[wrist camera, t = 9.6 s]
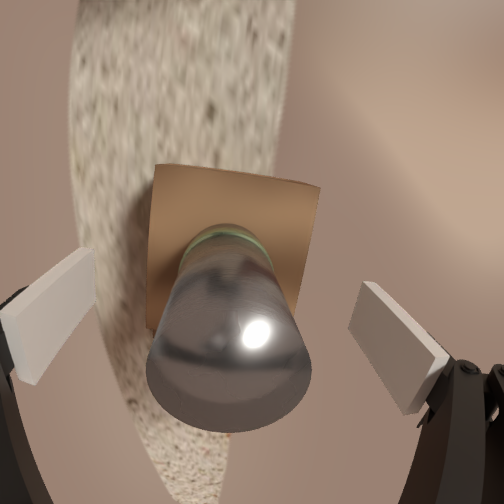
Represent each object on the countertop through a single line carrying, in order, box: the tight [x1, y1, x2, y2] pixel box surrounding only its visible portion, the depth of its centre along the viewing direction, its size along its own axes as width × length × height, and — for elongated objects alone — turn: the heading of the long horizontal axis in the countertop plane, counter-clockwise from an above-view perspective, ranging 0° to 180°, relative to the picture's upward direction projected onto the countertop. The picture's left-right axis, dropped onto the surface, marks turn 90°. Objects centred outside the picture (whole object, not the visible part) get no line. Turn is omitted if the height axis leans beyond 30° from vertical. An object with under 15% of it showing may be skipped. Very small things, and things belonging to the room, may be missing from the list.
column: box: [146, 223, 312, 433], centre depth 14 cm, size 5×5×11 cm
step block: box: [146, 164, 320, 338], centre depth 22 cm, size 14×10×5 cm
